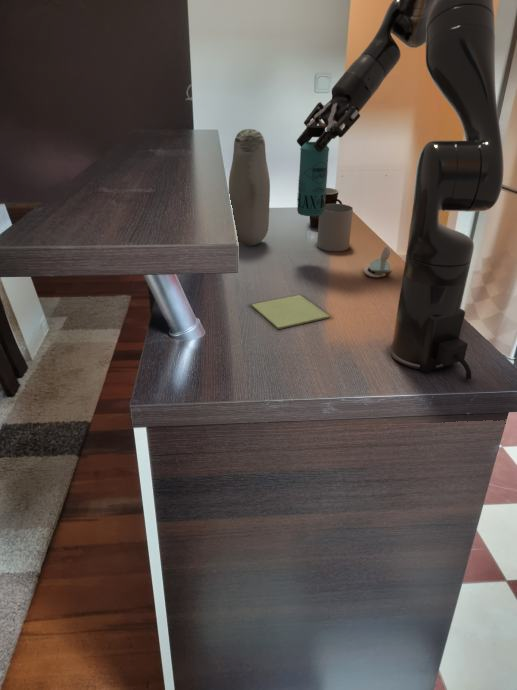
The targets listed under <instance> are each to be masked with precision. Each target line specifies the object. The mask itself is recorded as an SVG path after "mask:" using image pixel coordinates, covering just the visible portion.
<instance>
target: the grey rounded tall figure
mask: <svg viewBox="0 0 517 690" xmlns="http://www.w3.org/2000/svg"><path fill="white" fill-rule="evenodd" d="M269 173H270V172H269V167H268V162H267V154H266V142H265V138H264V135H263V134H262V133H261V132H260V131H259V130H256V129H252V128H245V129H242V130H240V131H239V132H238V133H237V134H236V135H235V138H234V141H233V153H232V161H231V167H230V170H229V176H228V195H229V194H230V200H231V205H232V208H233V215H234V220H235V225H236V230H237V236H238V241H239V242H238V241H237V242H238V243H240V244H242V245H244V246H254V245H258V244H260V243H261V242H262V241H263V240H264V239H265V238H266V236H267V235H268V231H269V224H270V201H271V200H270V199H271V198H270V197H271V181H270V180H271V179H270V174H269Z"/></svg>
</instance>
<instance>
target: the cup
mask: <svg viewBox="0 0 517 690" xmlns="http://www.w3.org/2000/svg"><path fill="white" fill-rule="evenodd" d="M325 205H326V206H325V210H324V214H323V215H320V216H319V224H318V228H317V241H316V247H317V248H318V249H320V250H323V251H327V252H328V251H329V252H342V251H343V252H344V251H346V250H348V249H350V243H351V242H350V241H351V231H352V221H353V211H354V210H353V209H354V208H353V206H351V205H347V204H344V203H342V204H340V203H336V204H325Z"/></svg>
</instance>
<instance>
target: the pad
mask: <svg viewBox="0 0 517 690" xmlns="http://www.w3.org/2000/svg"><path fill="white" fill-rule="evenodd" d="M251 308H253V309H254V310H256V311H257V312H258V313H259V314H260V315H261V316H262V317H263V318H264V319H265V320H267V321H268V322H269V323H270V324H272V325H273V327H275V328H276V329H277V330H282V329H287V328H290V327H294V326H299V325H303V324H308V323H313V322H317V321H321V320H326V319H329V318H330V315H329V314H327V313H326V312H325V311H323V310H322V309H320V308H319V307H318V306H317V305H315V304H314V303H312V302H311V301H309V300H307V298H305V297H303V296H302V295H301V294H298V295H294V296H293V295H291V296H287V297H283V298H282V297H281V298H278V299H272V300H267V301H261V302H258V303H253V304H251Z"/></svg>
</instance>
